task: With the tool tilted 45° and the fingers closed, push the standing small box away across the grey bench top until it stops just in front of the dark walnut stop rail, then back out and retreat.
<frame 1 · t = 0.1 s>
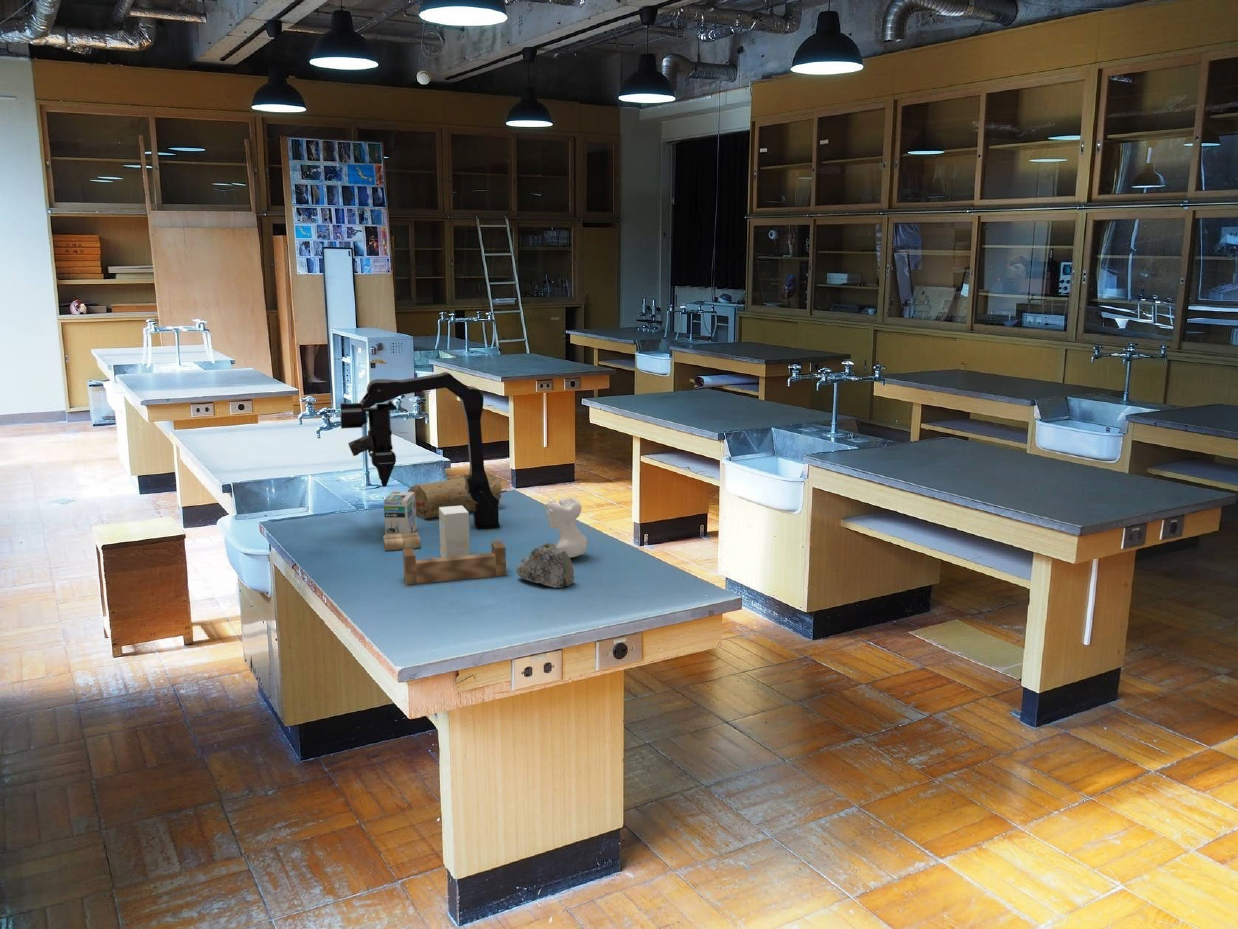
hand: (383, 482, 283), 15 cm above the worktop, tool pointing down, fingers open, 9 cm apart
mineral rock: (546, 583, 245), on the worktop
small box: (455, 559, 264), on the worktop
light bulb box: (401, 533, 288), on the worktop
roller a: (401, 544, 277), on the worktop
roller b: (402, 549, 273), on the worktop
white bust sculpture: (565, 557, 264), on the worktop
stop rail: (456, 578, 248), on the worktop
core sample: (456, 512, 311), on the worktop
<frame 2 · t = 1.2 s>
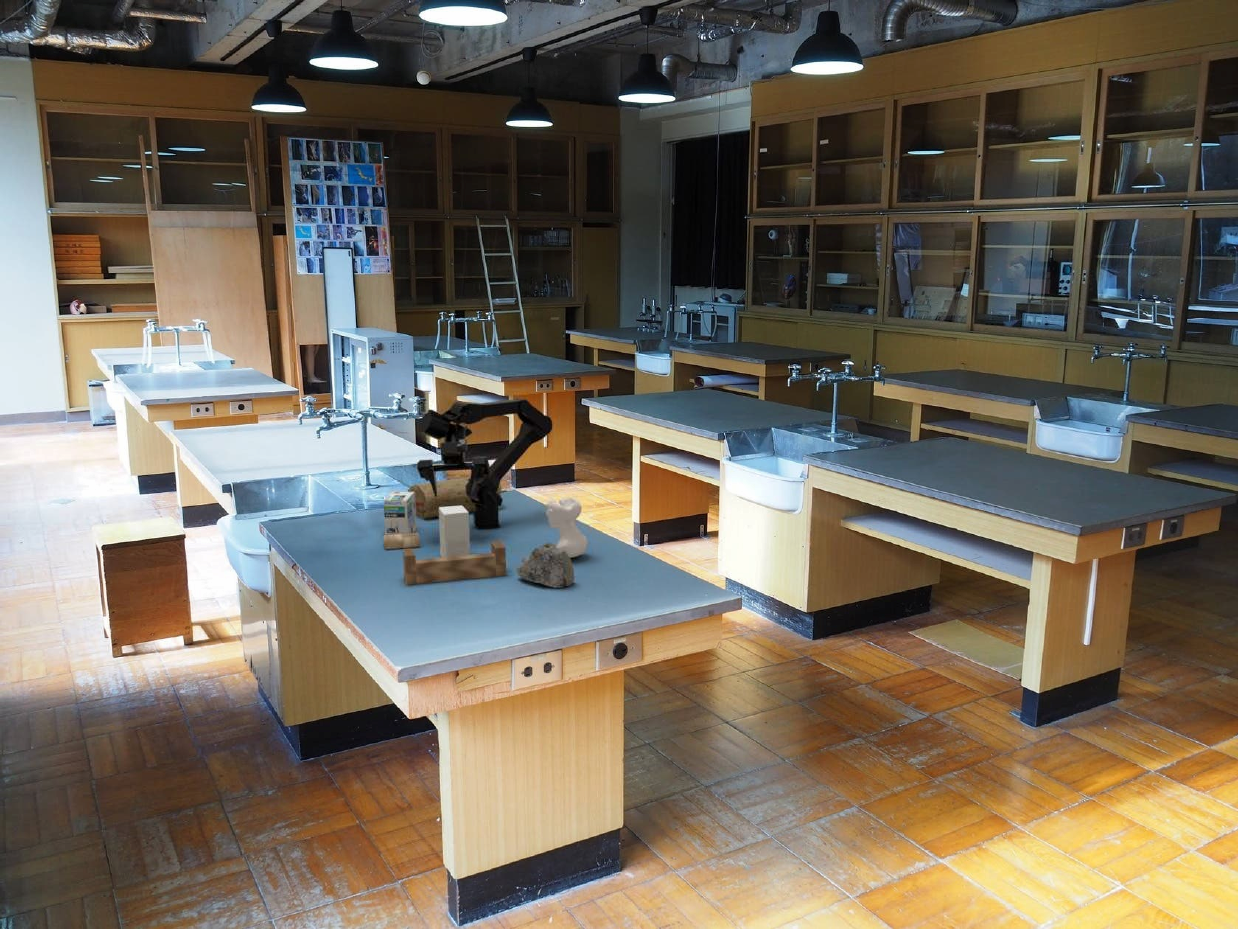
hand: (452, 495, 274), 13 cm above the worktop, tool tilted 40°, fingers open, 9 cm apart
roller a: (401, 544, 277), on the worktop, tilted 10°
roller b: (402, 547, 273), on the worktop, tilted 49°
everything else where it was.
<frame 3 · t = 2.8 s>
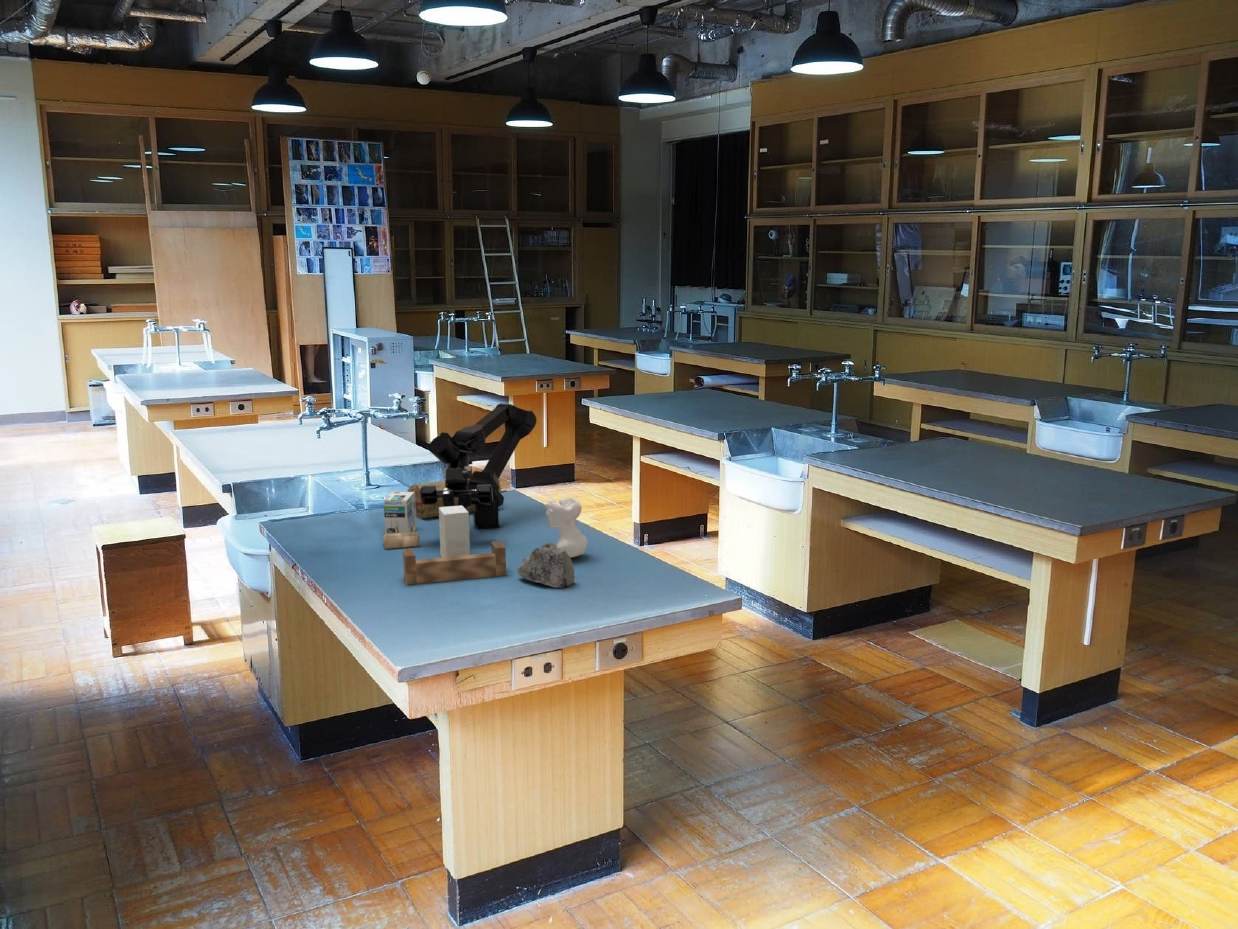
hand: (455, 522, 270), 7 cm above the worktop, tool tilted 45°, fingers closed
roller a: (401, 544, 277), on the worktop, tilted 24°
roller b: (402, 545, 273), point 1 cm above the worktop, tilted 67°
everything else where it was.
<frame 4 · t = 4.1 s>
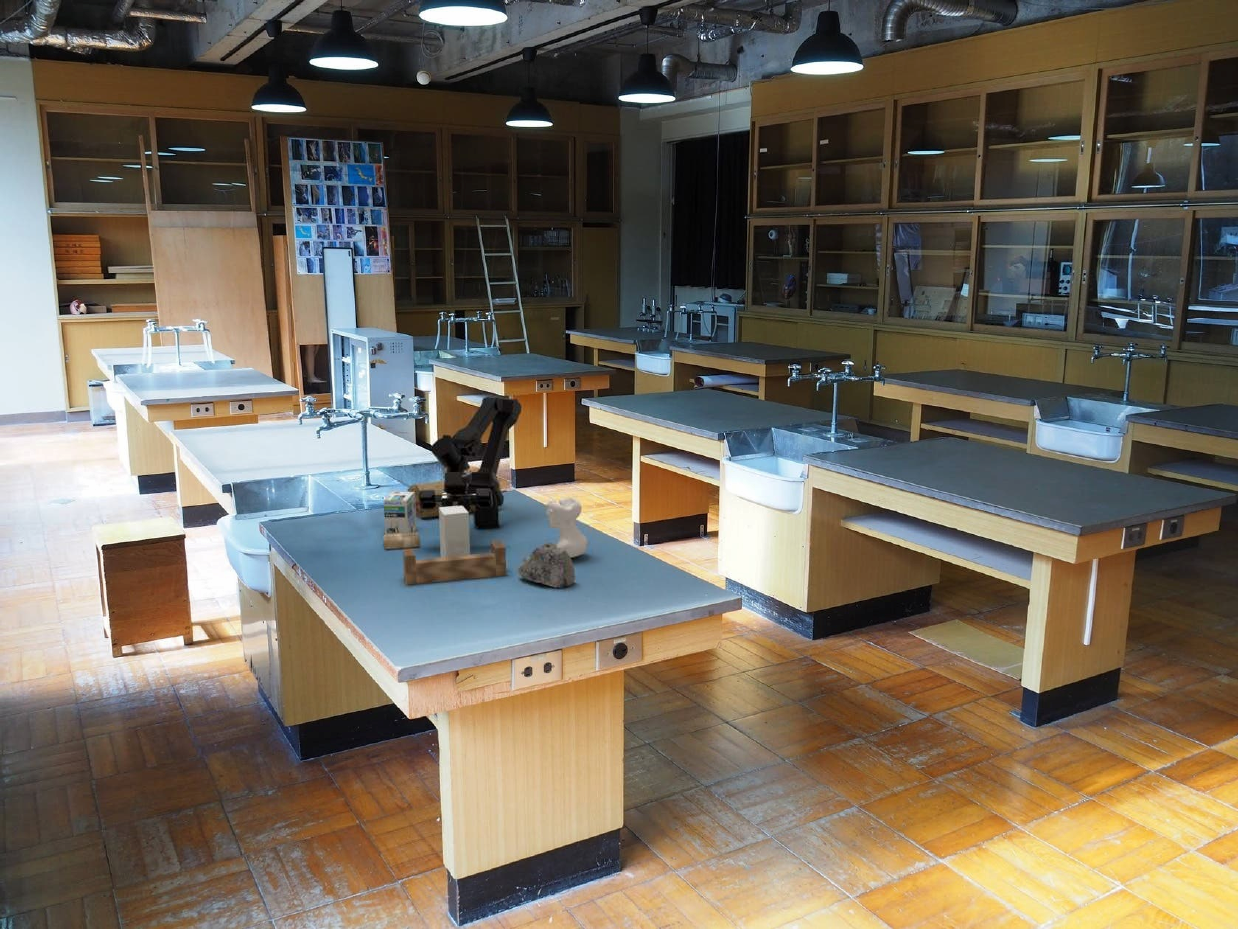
hand: (455, 526, 266), 7 cm above the worktop, tool tilted 45°, fingers closed
small box: (455, 560, 263), on the worktop, touching gripper
roller a: (401, 544, 277), on the worktop, tilted 7°
roller b: (402, 547, 273), on the worktop, tilted 48°
everything else where it was.
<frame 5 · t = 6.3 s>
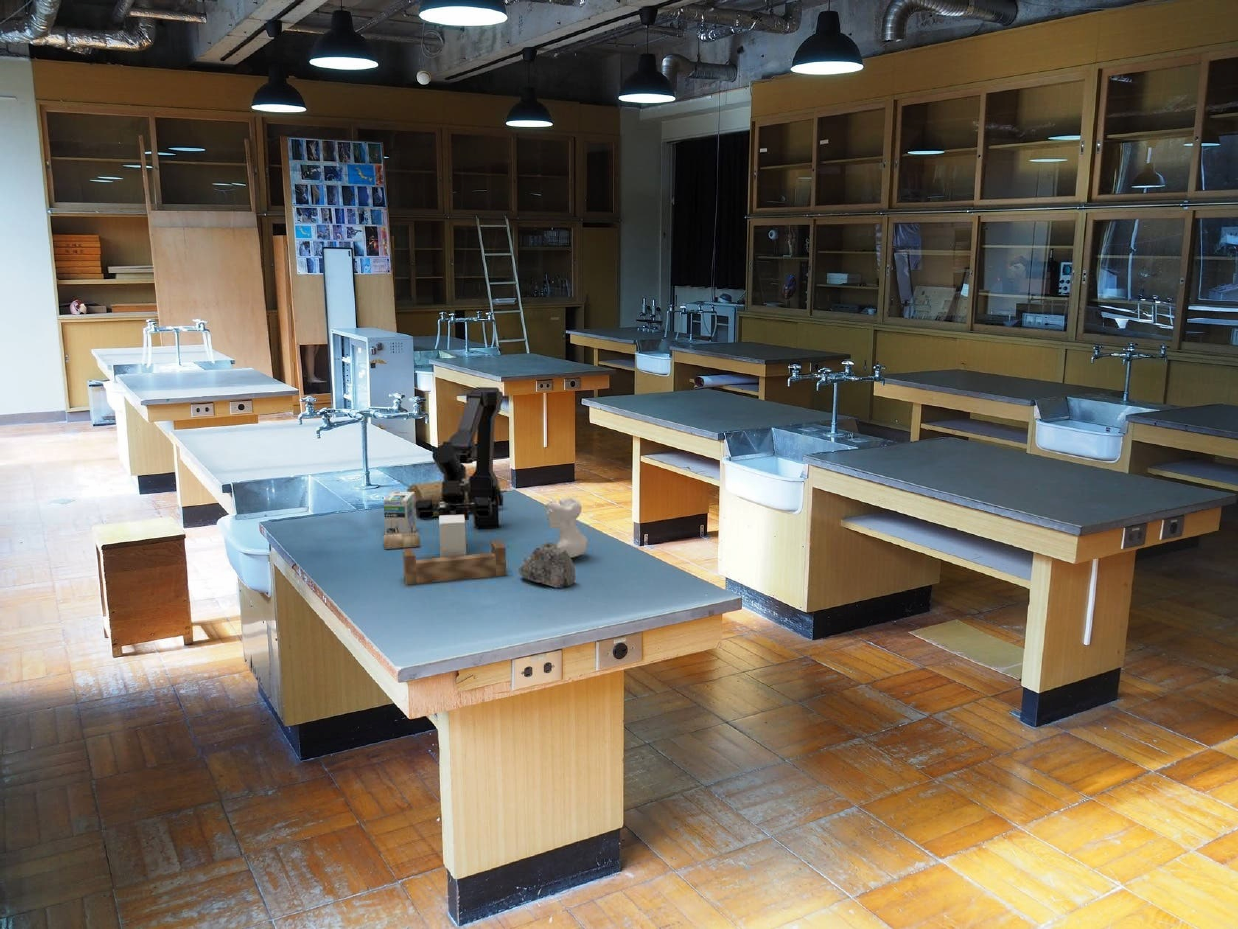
hand: (453, 537, 257), 7 cm above the worktop, tool tilted 45°, fingers closed
small box: (454, 570, 255), on the worktop, touching gripper
roller b: (402, 546, 273), on the worktop, tilted 59°
everything else where it was.
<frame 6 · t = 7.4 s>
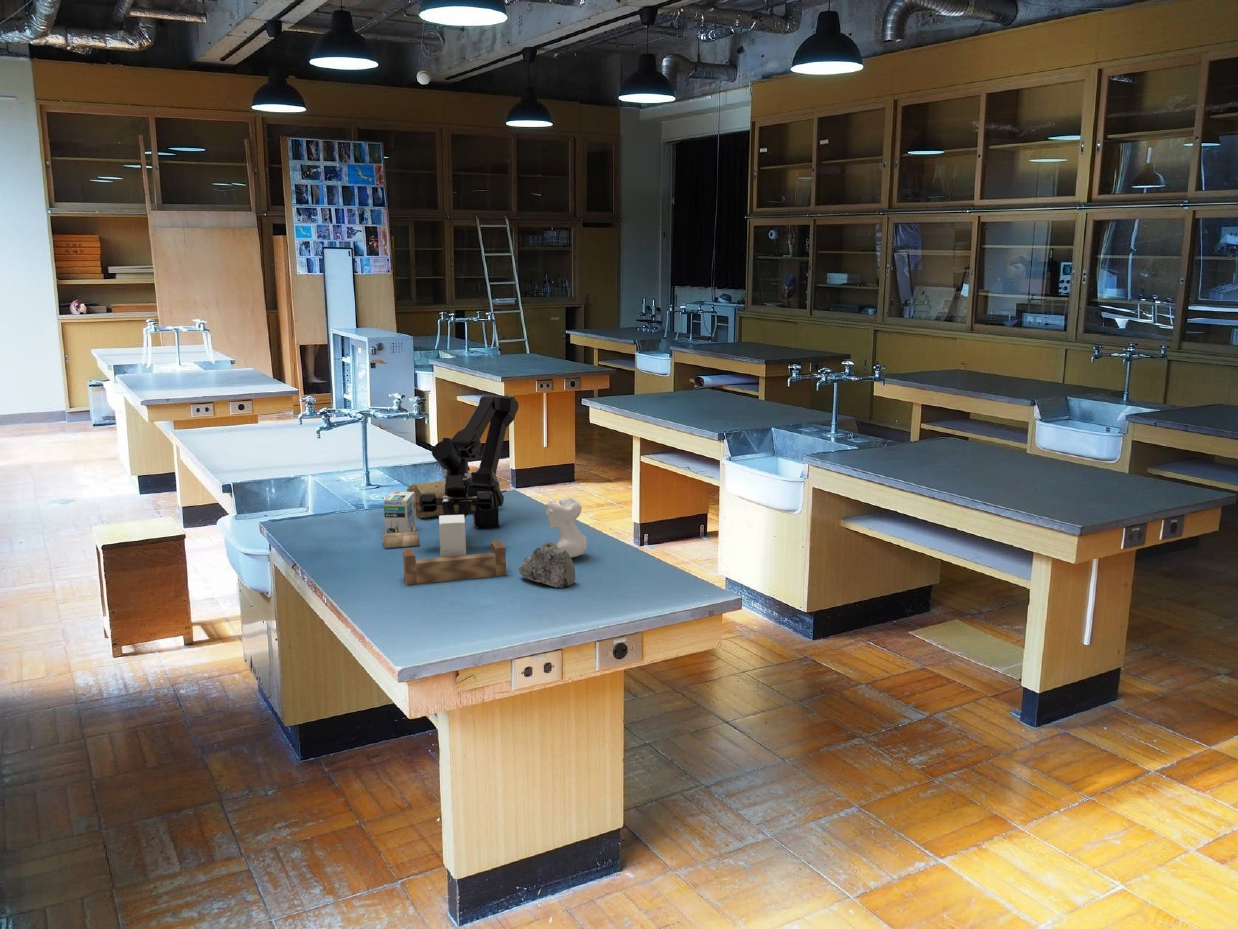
hand: (456, 530, 266), 7 cm above the worktop, tool tilted 45°, fingers closed
small box: (454, 570, 255), on the worktop
roller a: (401, 543, 277), on the worktop, tilted 46°
roller b: (402, 543, 273), point 1 cm above the worktop, tilted 92°
everything else where it was.
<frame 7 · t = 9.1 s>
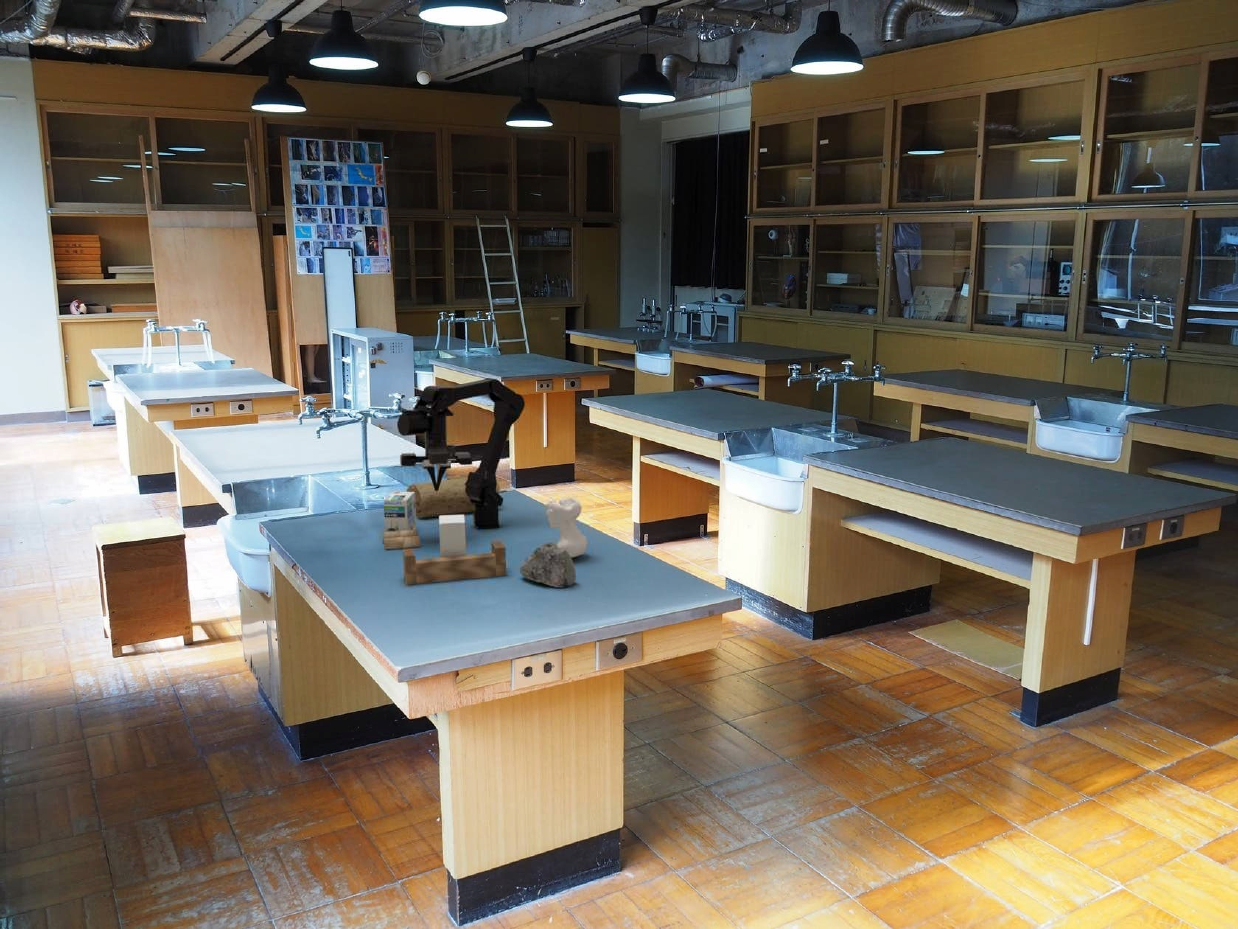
hand: (436, 490, 279), 13 cm above the worktop, tool pointing down, fingers closed
roller a: (400, 533, 278), point 2 cm above the worktop, tilted 133°
roller b: (402, 547, 273), on the worktop, tilted 48°
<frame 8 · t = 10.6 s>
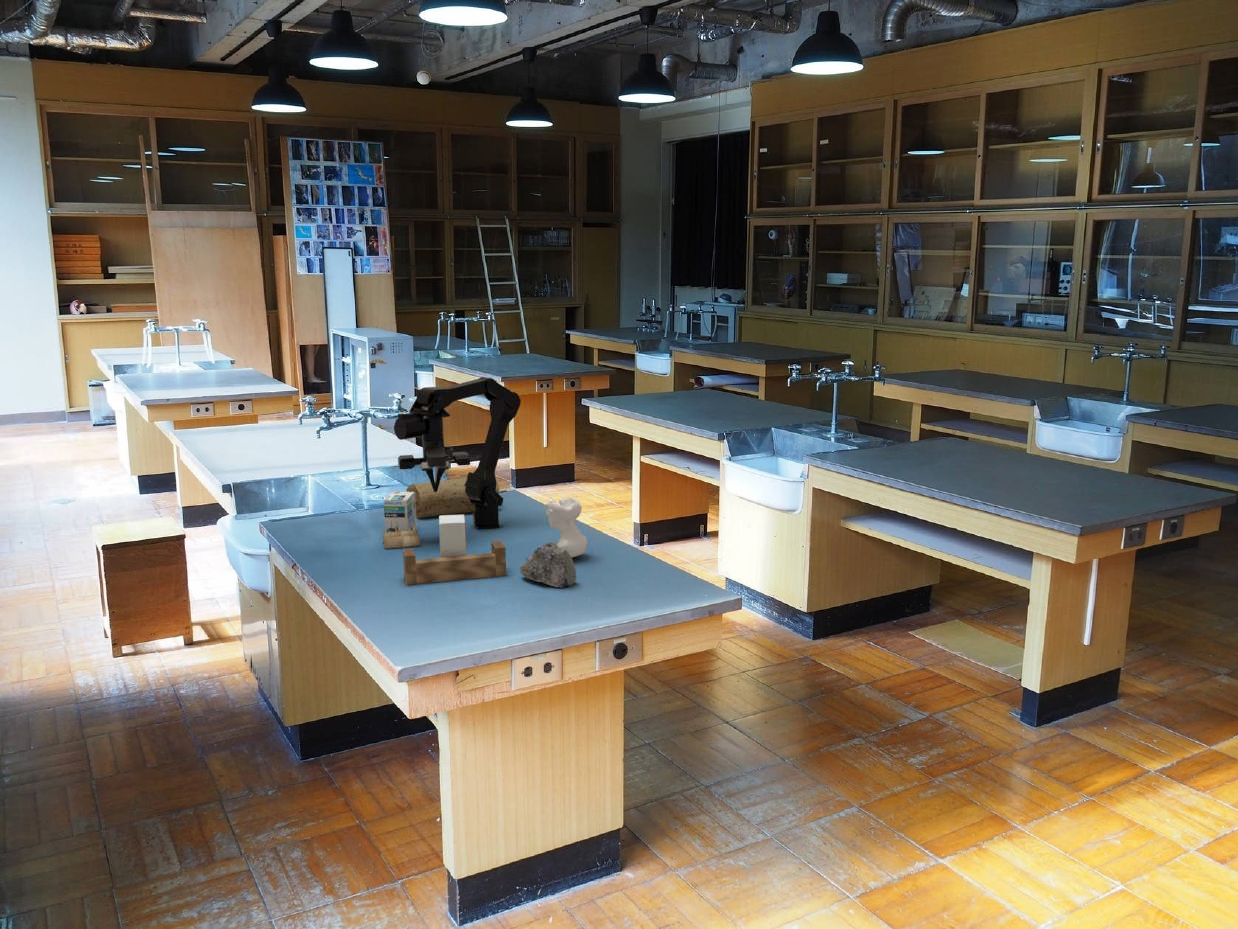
hand: (435, 491, 280), 13 cm above the worktop, tool pointing down, fingers closed
roller a: (400, 536, 278), point 2 cm above the worktop, tilted 109°
roller b: (402, 544, 273), point 1 cm above the worktop, tilted 79°
at the end: small box inside the target area on the worktop beside the stop rail (1.1 cm from its centre), on the worktop; small box tilted 0°; small box moved 9.0 cm from its start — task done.
